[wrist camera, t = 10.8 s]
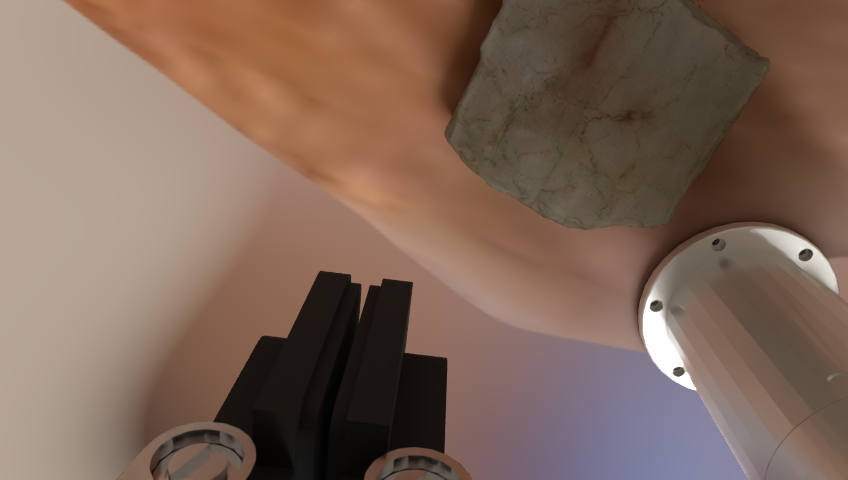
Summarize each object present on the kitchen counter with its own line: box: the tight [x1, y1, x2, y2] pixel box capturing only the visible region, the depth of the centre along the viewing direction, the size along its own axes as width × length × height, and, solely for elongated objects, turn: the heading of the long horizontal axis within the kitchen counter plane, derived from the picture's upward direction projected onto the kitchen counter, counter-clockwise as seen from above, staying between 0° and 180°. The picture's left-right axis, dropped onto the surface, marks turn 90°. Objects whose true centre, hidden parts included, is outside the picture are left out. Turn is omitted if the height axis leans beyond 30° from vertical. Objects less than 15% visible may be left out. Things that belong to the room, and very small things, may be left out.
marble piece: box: [445, 0, 770, 230], centre depth 36 cm, size 17×15×4 cm
